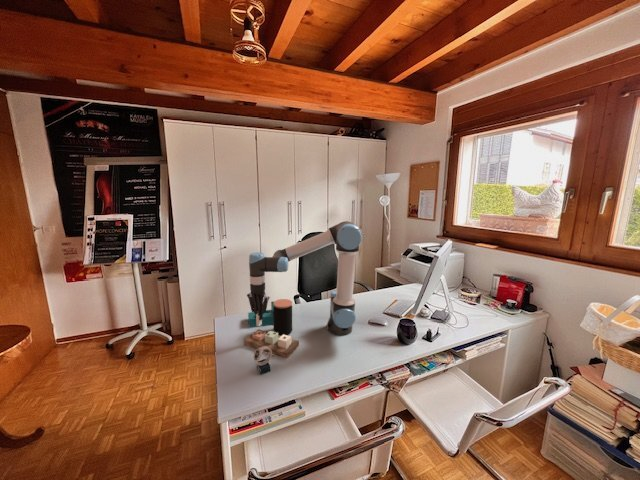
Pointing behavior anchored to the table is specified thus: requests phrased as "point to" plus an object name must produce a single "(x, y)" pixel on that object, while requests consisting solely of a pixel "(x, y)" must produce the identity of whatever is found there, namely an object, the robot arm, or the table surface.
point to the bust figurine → (262, 364)
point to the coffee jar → (282, 316)
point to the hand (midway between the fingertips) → (259, 324)
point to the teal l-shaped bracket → (266, 317)
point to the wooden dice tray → (272, 346)
